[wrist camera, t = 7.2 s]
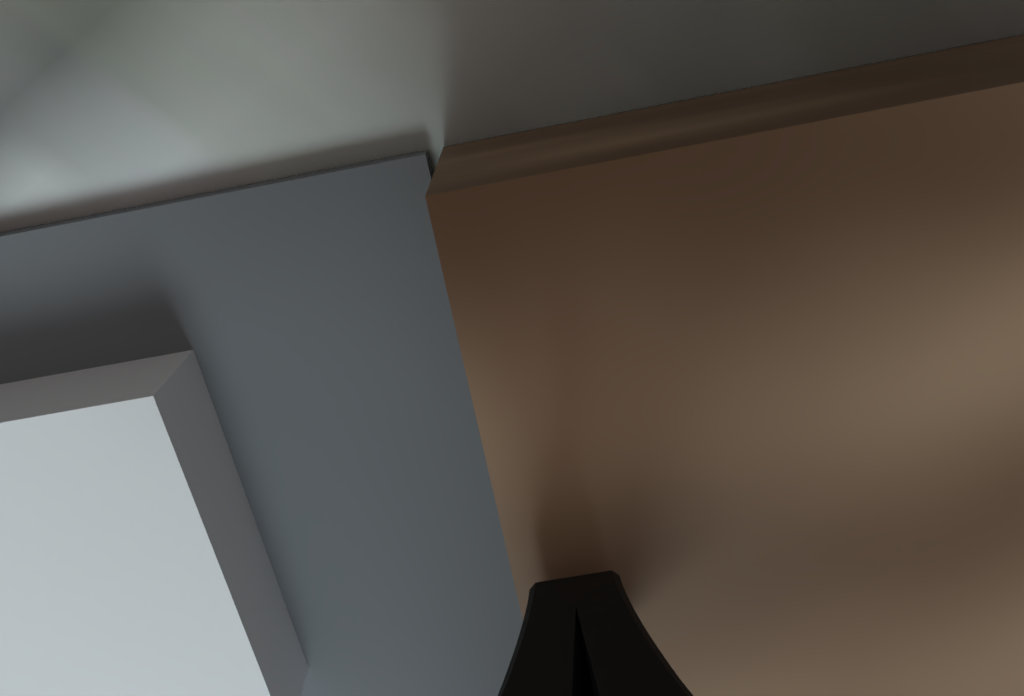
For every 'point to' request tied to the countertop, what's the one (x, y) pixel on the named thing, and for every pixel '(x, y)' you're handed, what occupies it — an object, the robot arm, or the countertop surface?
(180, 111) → the countertop surface
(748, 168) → the flat brown box
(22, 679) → the tile
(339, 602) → the mat
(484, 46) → the countertop surface
